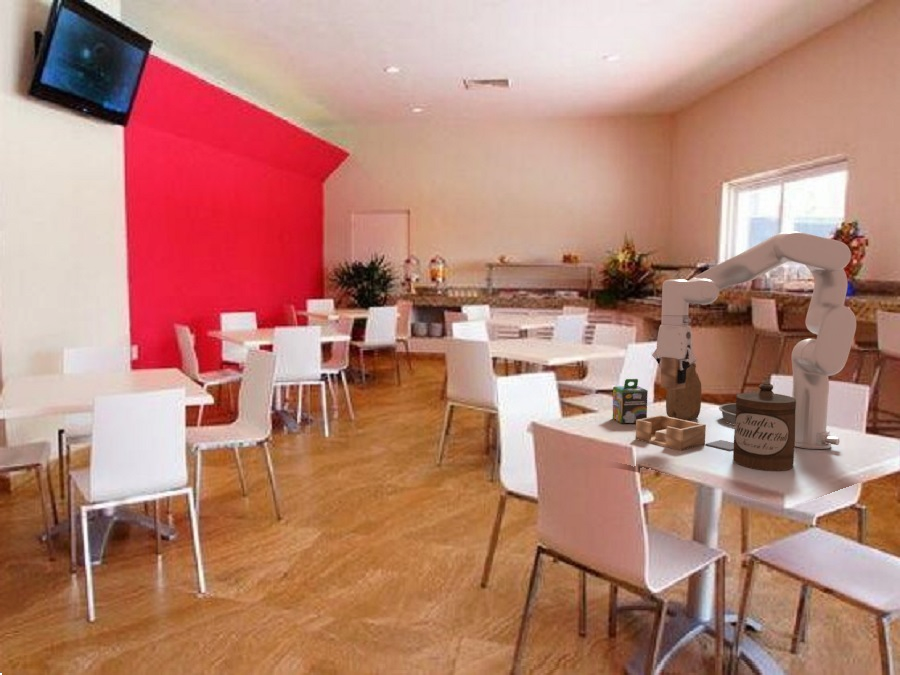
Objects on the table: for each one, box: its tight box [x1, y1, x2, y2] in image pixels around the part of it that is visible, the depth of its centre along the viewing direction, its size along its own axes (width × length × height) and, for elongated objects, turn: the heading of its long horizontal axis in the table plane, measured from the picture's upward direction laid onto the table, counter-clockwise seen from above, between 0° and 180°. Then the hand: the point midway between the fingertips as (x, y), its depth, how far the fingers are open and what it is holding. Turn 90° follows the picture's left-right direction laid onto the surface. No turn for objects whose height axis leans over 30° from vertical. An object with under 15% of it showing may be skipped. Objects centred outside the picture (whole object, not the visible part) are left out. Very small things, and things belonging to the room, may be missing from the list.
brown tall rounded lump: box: [665, 362, 702, 421], centre depth 238 cm, size 11×8×20 cm
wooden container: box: [732, 382, 796, 472], centre depth 183 cm, size 15×15×22 cm
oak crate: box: [634, 414, 707, 451], centre depth 206 cm, size 16×12×6 cm
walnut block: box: [660, 358, 685, 390], centre depth 204 cm, size 5×5×9 cm
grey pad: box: [705, 439, 734, 452], centre depth 202 cm, size 8×8×1 cm
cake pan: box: [718, 402, 736, 426], centre depth 233 cm, size 25×25×4 cm
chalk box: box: [612, 378, 649, 424], centre depth 233 cm, size 9×9×15 cm
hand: (673, 381), depth 204 cm, fingers closed on walnut block, 5 cm apart
